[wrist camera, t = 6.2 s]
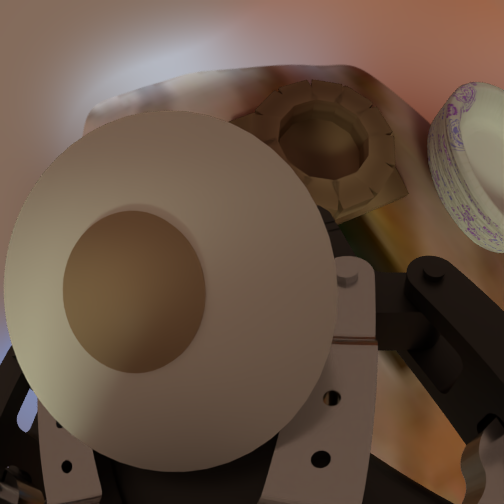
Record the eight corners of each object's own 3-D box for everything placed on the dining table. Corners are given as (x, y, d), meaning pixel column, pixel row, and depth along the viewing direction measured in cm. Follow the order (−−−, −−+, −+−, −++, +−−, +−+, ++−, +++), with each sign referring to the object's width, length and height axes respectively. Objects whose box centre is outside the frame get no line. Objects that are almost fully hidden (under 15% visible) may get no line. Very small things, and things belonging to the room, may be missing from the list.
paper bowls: (407, 102, 26) (436, 56, 19) (511, 141, 25) (548, 112, 17) (411, 246, 24) (460, 226, 17) (522, 267, 23) (573, 257, 15)
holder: (343, 91, 27) (351, 66, 23) (404, 196, 25) (423, 181, 21) (229, 127, 27) (223, 103, 23) (282, 247, 25) (284, 238, 21)
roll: (267, 226, 16) (242, 55, 4) (306, 320, 15) (401, 404, 3) (175, 265, 16) (-17, 203, 4) (212, 357, 15) (70, 487, 3)
